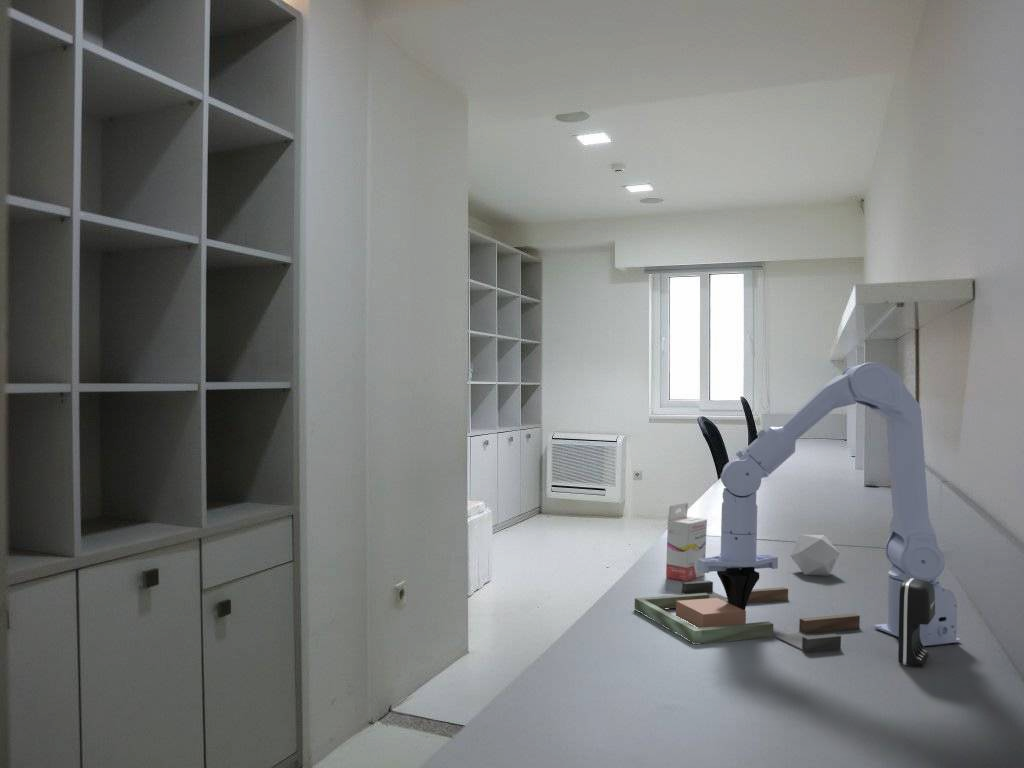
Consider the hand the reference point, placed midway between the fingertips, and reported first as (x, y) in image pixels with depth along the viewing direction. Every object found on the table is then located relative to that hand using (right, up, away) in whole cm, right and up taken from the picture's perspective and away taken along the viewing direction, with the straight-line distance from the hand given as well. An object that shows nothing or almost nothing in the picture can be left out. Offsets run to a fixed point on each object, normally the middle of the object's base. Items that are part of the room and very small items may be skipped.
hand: (737, 613), depth 126 cm
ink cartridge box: (-2, -2, +29) cm, 29 cm away
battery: (+20, -2, -18) cm, 27 cm away
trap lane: (+1, -1, 0) cm, 2 cm away
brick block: (-5, -1, -2) cm, 5 cm away
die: (+27, -2, +35) cm, 44 cm away
